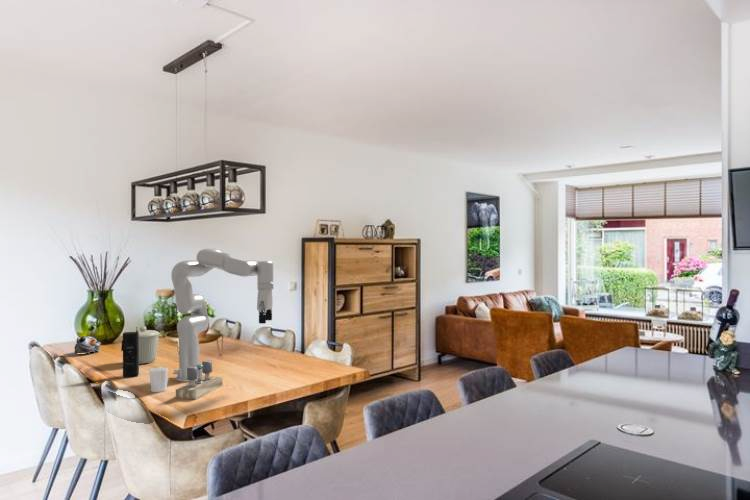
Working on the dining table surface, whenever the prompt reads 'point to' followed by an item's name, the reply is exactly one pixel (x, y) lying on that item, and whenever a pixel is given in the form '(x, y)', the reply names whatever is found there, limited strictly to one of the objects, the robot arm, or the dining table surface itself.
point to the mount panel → (198, 388)
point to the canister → (147, 345)
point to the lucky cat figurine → (86, 345)
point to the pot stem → (199, 374)
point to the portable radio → (130, 354)
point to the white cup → (159, 379)
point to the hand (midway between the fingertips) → (265, 321)
